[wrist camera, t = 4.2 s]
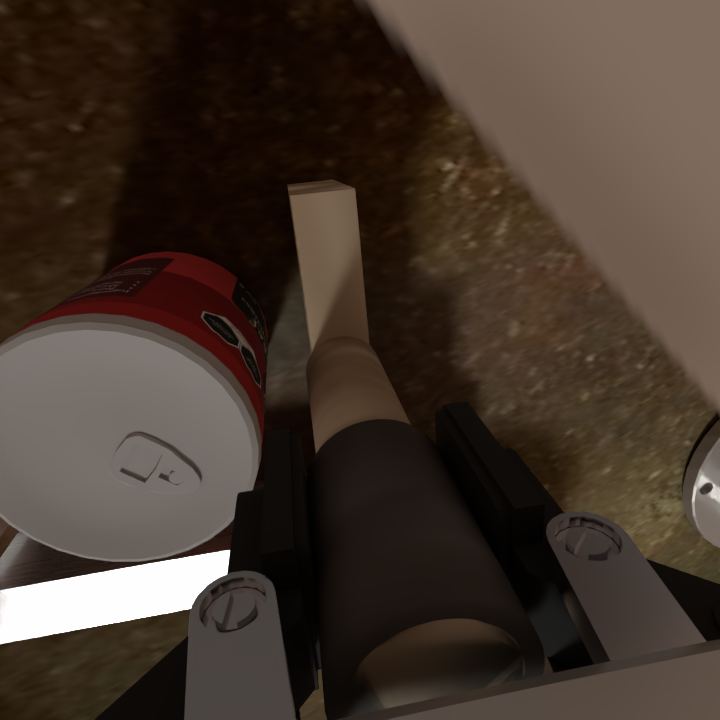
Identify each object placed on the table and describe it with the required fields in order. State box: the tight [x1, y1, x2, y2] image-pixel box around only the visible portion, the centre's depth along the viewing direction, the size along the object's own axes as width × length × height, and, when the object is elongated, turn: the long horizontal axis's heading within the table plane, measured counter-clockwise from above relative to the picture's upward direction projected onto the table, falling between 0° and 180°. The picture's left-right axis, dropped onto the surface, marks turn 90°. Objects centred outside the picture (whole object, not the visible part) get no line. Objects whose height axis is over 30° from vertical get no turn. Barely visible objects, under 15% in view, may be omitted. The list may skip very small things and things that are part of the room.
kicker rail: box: [0, 473, 308, 644], centre depth 26 cm, size 22×3×5 cm, turn 95°
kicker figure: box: [287, 180, 545, 720], centre depth 17 cm, size 6×19×18 cm, turn 5°
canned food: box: [0, 251, 268, 562], centre depth 19 cm, size 8×8×11 cm
